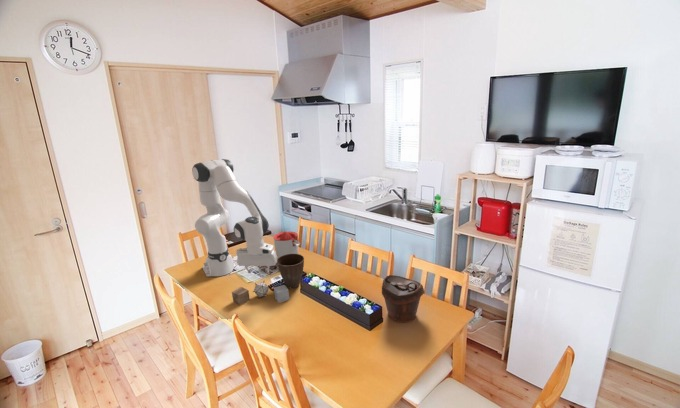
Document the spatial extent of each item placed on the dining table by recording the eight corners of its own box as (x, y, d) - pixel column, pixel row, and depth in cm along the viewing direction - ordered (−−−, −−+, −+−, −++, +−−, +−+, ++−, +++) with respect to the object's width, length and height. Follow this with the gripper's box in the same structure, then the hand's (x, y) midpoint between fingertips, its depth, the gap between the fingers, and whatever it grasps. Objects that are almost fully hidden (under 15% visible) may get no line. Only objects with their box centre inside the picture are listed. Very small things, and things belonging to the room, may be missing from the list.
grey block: (274, 297, 176) (273, 287, 175) (285, 294, 179) (284, 284, 177) (278, 303, 171) (277, 292, 170) (289, 299, 174) (288, 289, 172)
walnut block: (233, 302, 174) (231, 291, 173) (242, 296, 179) (241, 286, 177) (240, 305, 171) (238, 295, 169) (249, 300, 175) (248, 290, 174)
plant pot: (311, 282, 189) (309, 257, 185) (293, 295, 178) (290, 268, 173) (292, 276, 198) (290, 251, 193) (274, 287, 186) (271, 261, 182)
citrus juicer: (293, 267, 209) (290, 237, 203) (271, 262, 216) (267, 234, 211) (306, 256, 222) (304, 228, 217) (284, 253, 230) (282, 226, 224)
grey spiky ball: (259, 303, 179) (246, 290, 176) (268, 290, 184) (255, 278, 182) (267, 300, 172) (253, 288, 170) (276, 288, 178) (263, 275, 176)
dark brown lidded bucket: (430, 322, 150) (431, 287, 145) (388, 329, 147) (387, 293, 142) (415, 301, 167) (415, 269, 162) (377, 307, 164) (376, 274, 159)
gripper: (233, 251, 168) (237, 275, 172) (273, 250, 167) (276, 275, 171) (237, 246, 174) (241, 269, 178) (276, 245, 173) (278, 269, 177)
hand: (258, 272), depth 175 cm, fingers open, 8 cm apart
